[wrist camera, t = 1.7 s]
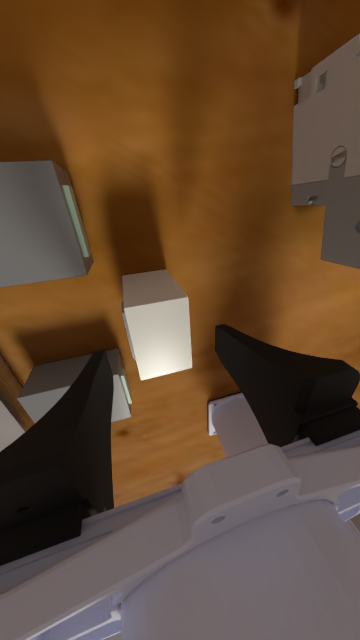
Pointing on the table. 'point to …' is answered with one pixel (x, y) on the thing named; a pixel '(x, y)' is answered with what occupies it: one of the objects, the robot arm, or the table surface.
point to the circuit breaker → (330, 150)
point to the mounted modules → (48, 268)
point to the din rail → (11, 408)
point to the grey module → (157, 323)
